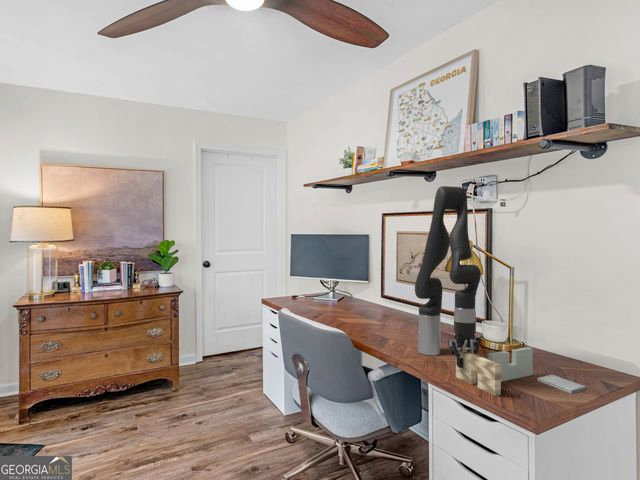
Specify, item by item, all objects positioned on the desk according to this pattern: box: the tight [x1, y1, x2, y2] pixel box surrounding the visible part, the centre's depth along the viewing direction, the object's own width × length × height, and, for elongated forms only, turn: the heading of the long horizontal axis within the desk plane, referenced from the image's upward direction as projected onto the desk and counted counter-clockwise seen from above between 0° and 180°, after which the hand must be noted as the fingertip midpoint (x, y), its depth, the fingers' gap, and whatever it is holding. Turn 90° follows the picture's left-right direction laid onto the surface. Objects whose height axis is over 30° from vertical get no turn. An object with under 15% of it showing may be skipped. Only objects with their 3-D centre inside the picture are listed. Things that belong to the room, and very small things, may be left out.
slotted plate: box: [487, 346, 534, 383], centre depth 143 cm, size 20×2×10 cm, turn 113°
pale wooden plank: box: [455, 350, 502, 397], centre depth 137 cm, size 18×2×10 cm, turn 23°
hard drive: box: [536, 374, 588, 394], centre depth 137 cm, size 2×8×12 cm
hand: (464, 366), depth 142 cm, fingers open, 3 cm apart
